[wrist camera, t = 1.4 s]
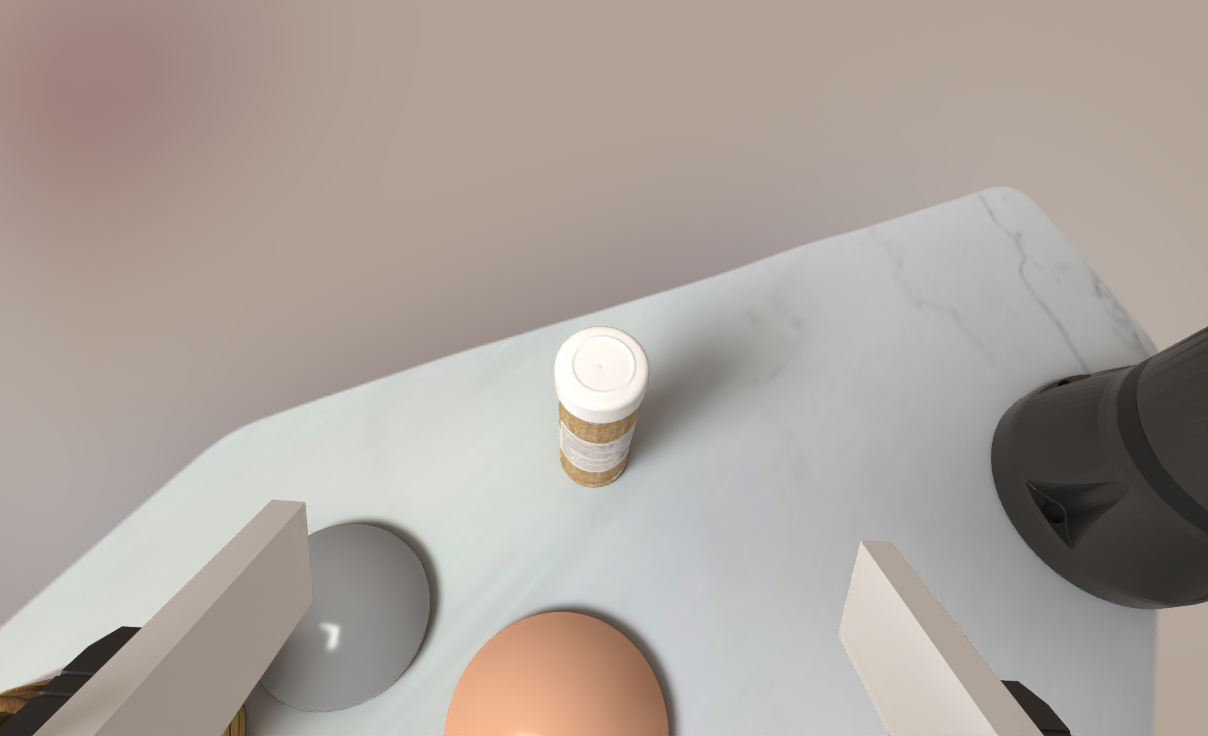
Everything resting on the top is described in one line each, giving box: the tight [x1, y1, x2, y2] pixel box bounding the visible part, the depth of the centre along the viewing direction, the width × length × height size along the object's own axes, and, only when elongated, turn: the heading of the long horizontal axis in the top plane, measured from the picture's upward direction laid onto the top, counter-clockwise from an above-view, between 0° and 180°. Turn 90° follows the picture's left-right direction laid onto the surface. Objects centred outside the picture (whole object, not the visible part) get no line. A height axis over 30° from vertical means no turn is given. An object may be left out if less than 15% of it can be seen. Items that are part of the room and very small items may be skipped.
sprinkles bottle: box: [555, 326, 650, 488], centre depth 34 cm, size 5×5×13 cm
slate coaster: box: [259, 524, 431, 712], centre depth 35 cm, size 10×10×1 cm
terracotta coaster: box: [444, 612, 669, 736], centre depth 33 cm, size 12×12×1 cm
